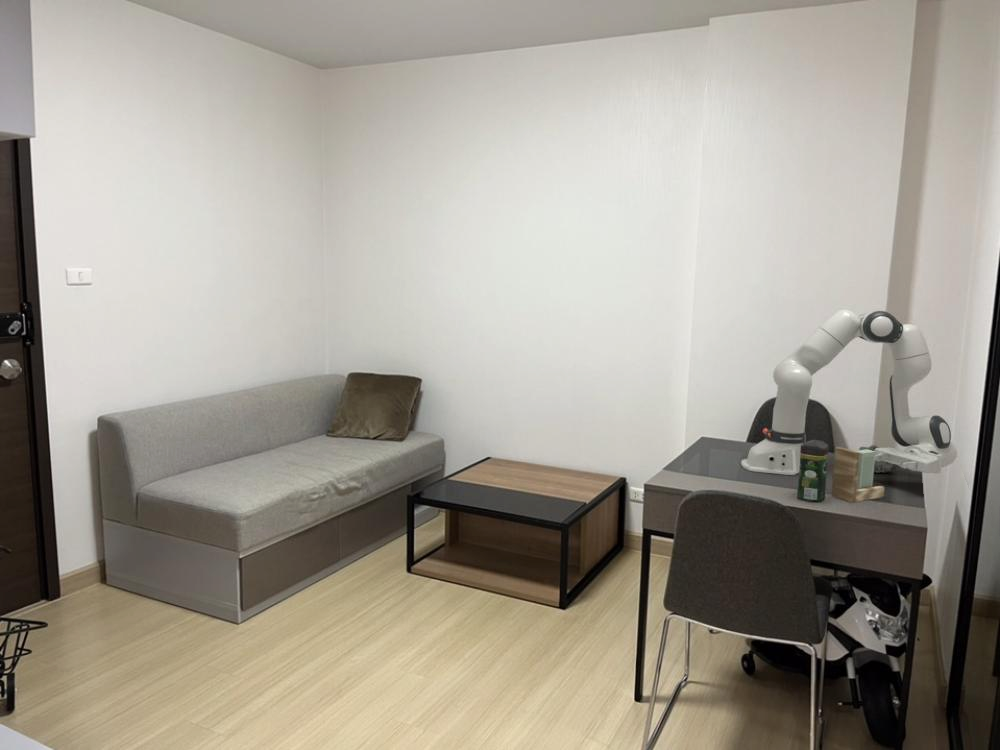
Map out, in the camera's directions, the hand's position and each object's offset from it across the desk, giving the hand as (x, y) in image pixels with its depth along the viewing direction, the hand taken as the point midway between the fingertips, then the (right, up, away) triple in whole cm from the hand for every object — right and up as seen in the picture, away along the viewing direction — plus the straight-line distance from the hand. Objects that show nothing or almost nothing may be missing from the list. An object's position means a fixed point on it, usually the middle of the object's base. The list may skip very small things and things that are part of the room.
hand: (889, 461), depth 250 cm
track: (-12, -11, -4) cm, 17 cm away
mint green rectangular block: (-11, -10, -4) cm, 15 cm away
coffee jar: (-29, -11, -7) cm, 31 cm away
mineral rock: (+8, -7, +24) cm, 26 cm away
